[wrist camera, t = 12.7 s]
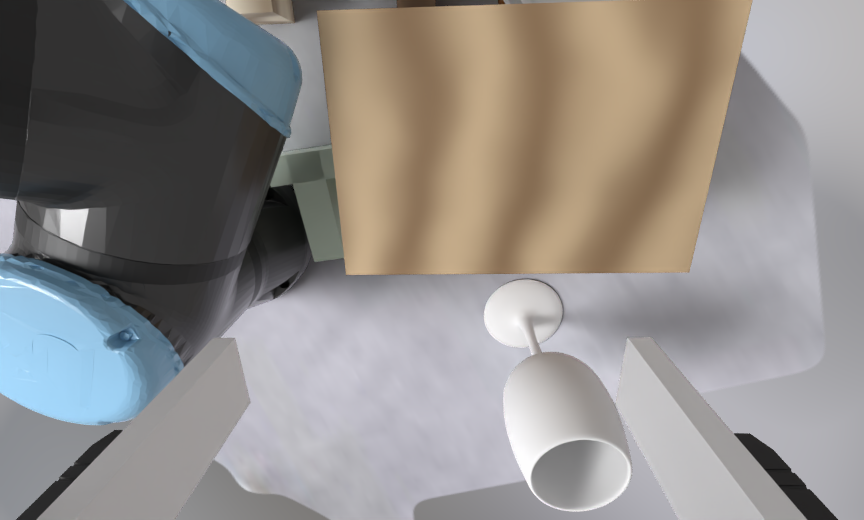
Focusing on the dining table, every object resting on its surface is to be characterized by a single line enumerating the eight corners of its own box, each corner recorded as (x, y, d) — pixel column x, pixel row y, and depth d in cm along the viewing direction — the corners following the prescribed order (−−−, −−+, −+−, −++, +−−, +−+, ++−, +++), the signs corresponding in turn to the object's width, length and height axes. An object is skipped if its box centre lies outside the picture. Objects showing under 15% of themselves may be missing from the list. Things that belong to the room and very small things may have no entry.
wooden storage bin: (382, 211, 41) (345, 274, 27) (370, 46, 36) (316, 10, 21) (600, 208, 41) (689, 272, 26) (623, 39, 35) (753, -5, 20)
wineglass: (496, 270, 43) (536, 411, 24) (573, 288, 44) (674, 440, 24) (474, 337, 47) (494, 509, 27) (546, 353, 47) (617, 533, 28)
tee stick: (310, 246, 43) (294, 264, 39) (284, 151, 40) (262, 158, 35) (374, 238, 43) (365, 255, 38) (353, 140, 39) (340, 146, 34)
